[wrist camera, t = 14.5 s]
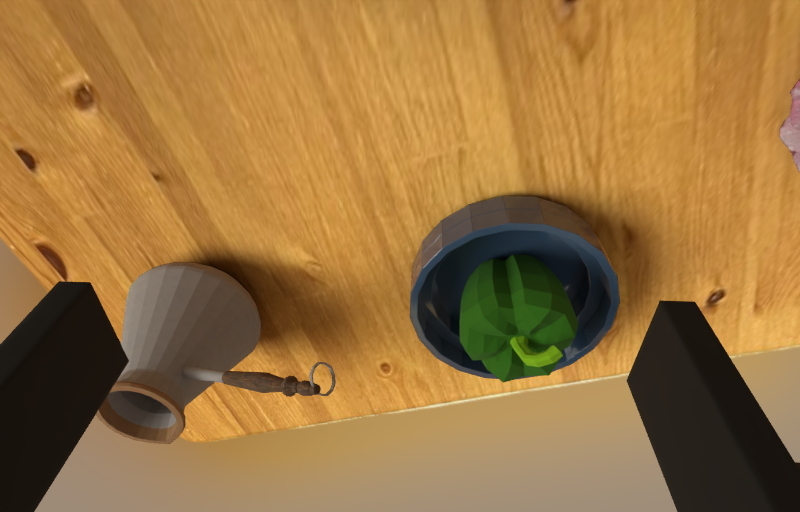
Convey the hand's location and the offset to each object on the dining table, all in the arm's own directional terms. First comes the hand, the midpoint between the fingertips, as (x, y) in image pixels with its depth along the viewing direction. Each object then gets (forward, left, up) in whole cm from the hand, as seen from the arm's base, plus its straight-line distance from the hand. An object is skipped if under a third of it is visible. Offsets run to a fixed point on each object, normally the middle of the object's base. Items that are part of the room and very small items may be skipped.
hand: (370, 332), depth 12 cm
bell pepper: (+8, -17, -25) cm, 31 cm away
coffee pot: (-14, -19, -25) cm, 35 cm away
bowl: (+8, -17, -25) cm, 31 cm away
